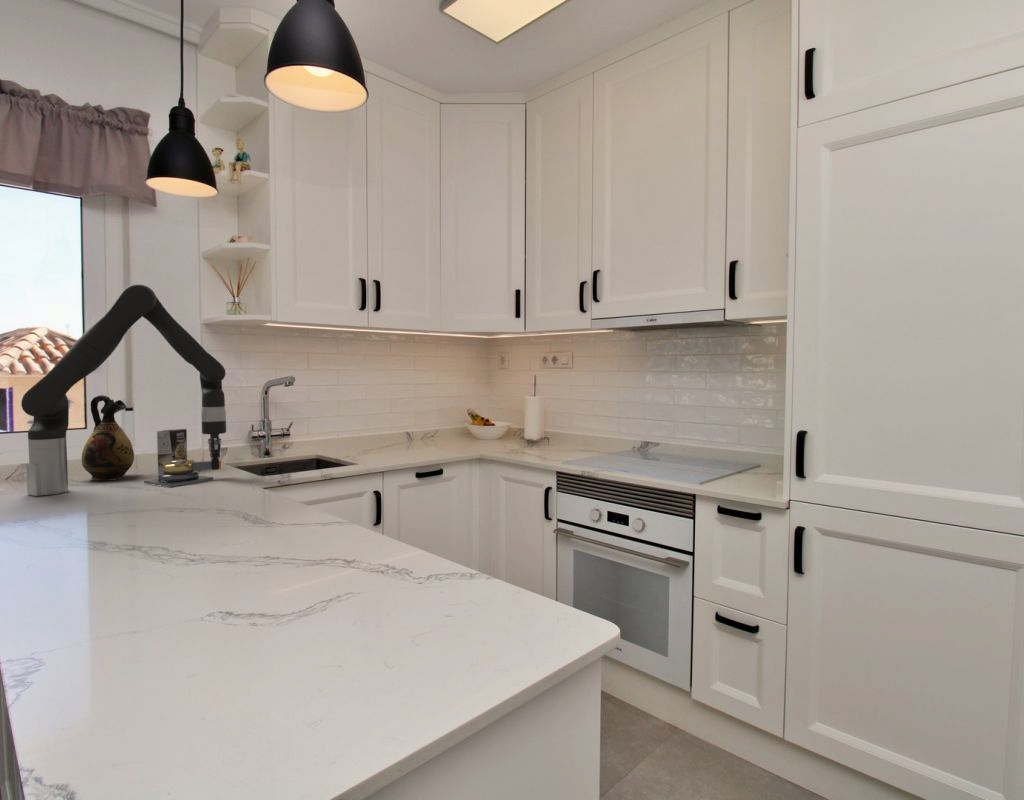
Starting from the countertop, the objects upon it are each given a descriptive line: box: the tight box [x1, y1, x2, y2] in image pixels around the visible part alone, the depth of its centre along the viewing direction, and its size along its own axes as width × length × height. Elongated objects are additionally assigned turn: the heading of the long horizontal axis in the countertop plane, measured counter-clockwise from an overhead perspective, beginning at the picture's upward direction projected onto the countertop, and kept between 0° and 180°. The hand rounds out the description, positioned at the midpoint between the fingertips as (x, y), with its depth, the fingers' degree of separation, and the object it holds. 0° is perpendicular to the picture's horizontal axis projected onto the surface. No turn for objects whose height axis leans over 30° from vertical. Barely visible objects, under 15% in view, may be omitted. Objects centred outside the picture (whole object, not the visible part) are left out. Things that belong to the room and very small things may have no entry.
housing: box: [143, 460, 214, 488], centre depth 194 cm, size 15×15×7 cm
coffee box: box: [156, 428, 188, 474], centre depth 216 cm, size 9×6×16 cm
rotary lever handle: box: [162, 459, 222, 475], centre depth 196 cm, size 18×9×4 cm, turn 118°
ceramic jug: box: [81, 394, 135, 482], centre depth 201 cm, size 17×15×30 cm
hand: (215, 469), depth 196 cm, fingers closed
